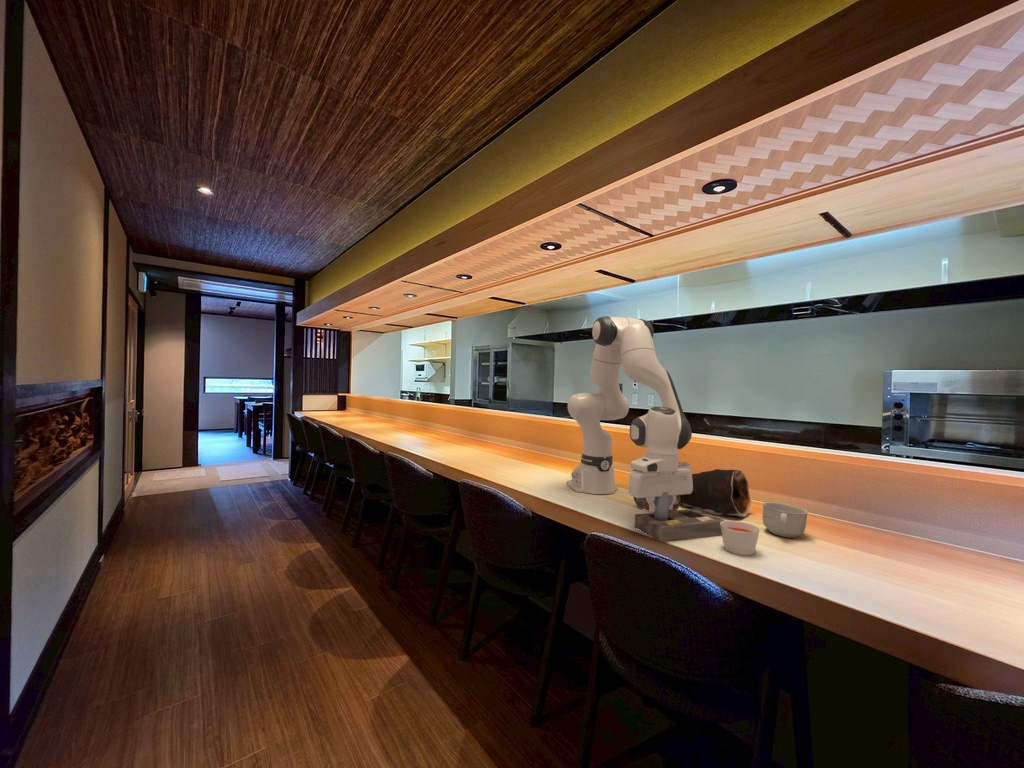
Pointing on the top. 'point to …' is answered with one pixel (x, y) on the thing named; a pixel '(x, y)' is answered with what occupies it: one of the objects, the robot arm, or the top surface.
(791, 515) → the teacup
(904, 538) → the top surface
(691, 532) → the socket block
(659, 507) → the plug
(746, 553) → the candle
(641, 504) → the tin
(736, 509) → the clay pot
